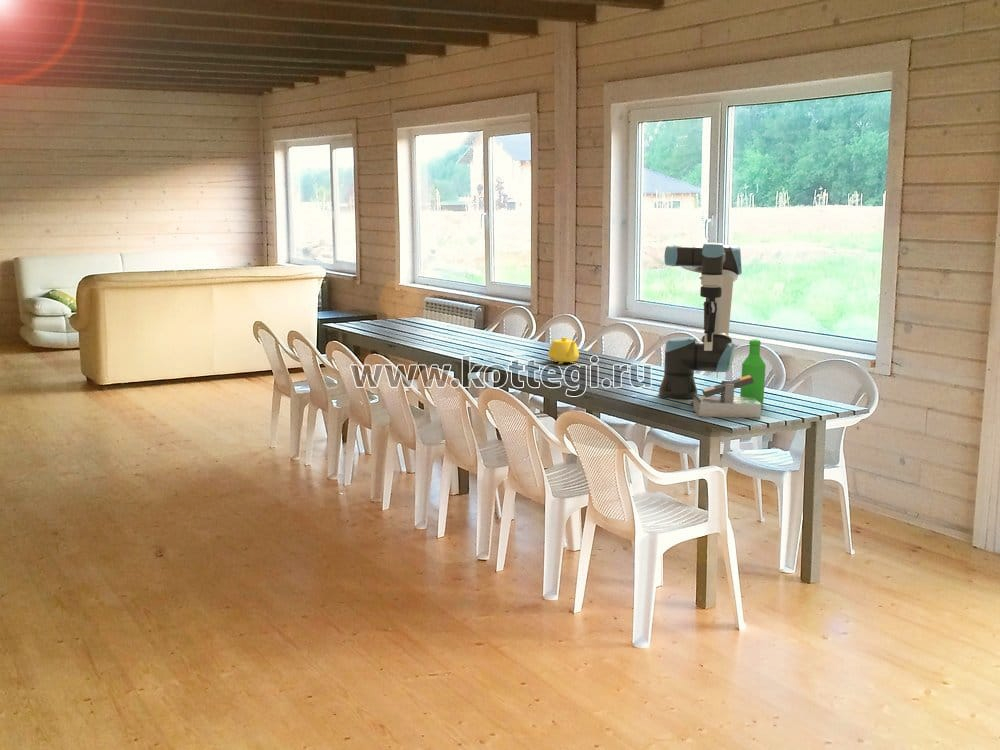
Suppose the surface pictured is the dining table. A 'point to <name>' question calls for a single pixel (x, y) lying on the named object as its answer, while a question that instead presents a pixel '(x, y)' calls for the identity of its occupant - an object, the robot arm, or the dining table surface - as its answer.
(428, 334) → the dining table surface
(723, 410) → the grey seesaw stand
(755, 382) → the bottle
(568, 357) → the teapot
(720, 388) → the rocker
